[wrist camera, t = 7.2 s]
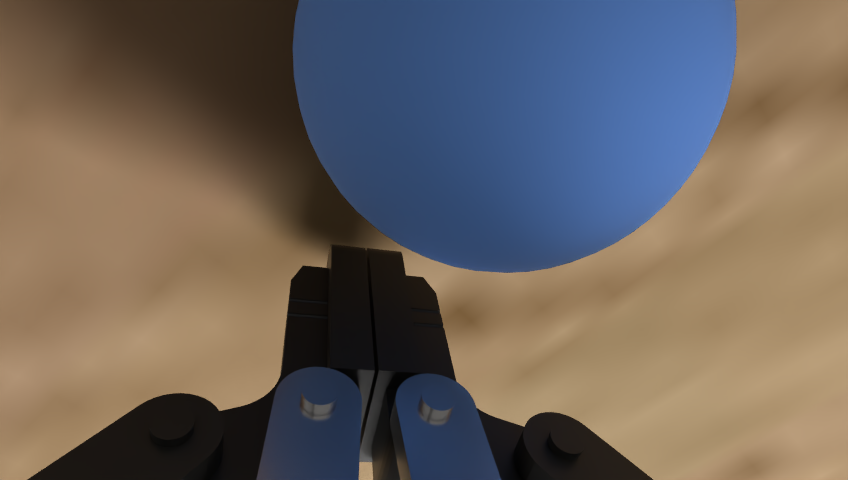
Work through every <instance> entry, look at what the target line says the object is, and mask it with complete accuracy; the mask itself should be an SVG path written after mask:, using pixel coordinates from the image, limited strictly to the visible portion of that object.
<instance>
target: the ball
mask: <svg viewBox="0 0 848 480" xmlns="http://www.w3.org/2000/svg"><path fill="white" fill-rule="evenodd" d="M735 57H736V7H735V0H299V3H298V7H297V11H296V16H295V26H294V37H293V67H294V79H295V85H296V91H297V97H298V102H299V107H300V111H301V115H302V118H303V121H304V124H305V127H306V130H307V134H308V137H309V139H310V142H311V144H312V146H313V148H314V150H315V152H316V154H317V156H318V158H319V160H320V162H321V164H322V165H323V167H324V169H325V170H326V172H327V173H328V175H329V176H330V178H331V179H332V181H333V182H334V184H335V185H336V187H337V188H338V190H339V191H340V193H341V194H342V195H343V196H344V197H345V199H346V200H347V201H348V202H349V203H350V204H351V205H352V206H353V208H354V209H355V210H356V211H357V212H358V213H359V214H361V215H362V216H363V217H364V218H365V219H366V220H367V221H369V222H370V223H371V224H372V225H373V226H374V227H376V228H377V229H378V230H379V231H381V232H382V233H383V234H385V235H386V236H388V237H389V238H391V239H392V240H394V241H395V242H397V243H398V244H400V245H401V246H403V247H405V248H407V249H410V250H412V251H414V252H416V253H418V254H420V255H422V256H425V257H427V258H430V259H432V260H435V261H438V262H441V263H444V264H447V265H451V266H454V267H459V268H464V269H469V270H475V271H488V272H504V273H510V272H529V271H535V270H541V269H548V268H552V267H556V266H559V265H563V264H567V263H570V262H573V261H575V260H578V259H581V258H583V257H586V256H589V255H591V254H594V253H596V252H598V251H600V250H602V249H604V248H606V247H608V246H610V245H612V244H614V243H616V242H618V241H619V240H621V239H622V238H624V237H626V236H627V235H629V234H630V233H632V232H633V231H635V230H636V229H637V228H639V227H640V226H641V225H643V224H644V223H645V222H647V221H648V220H649V219H650V218H651V217H653V216H654V215H655V214H656V213H657V212H658V211H659V210H660V209H661V208H662V207H663V206H665V205H666V204H667V202H668V201H669V200H670V199H671V198H672V197H673V196H674V195H675V194H676V193H677V191H678V190H679V189H680V188H681V187H682V185H683V184H684V183H685V181H686V180H687V179H688V177H689V176H690V175H691V173H692V172H693V171H694V169H695V168H696V166H697V164H698V163H699V161H700V159H701V158H702V156H703V155H704V153H705V151H706V149H707V147H708V145H709V143H710V141H711V139H712V137H713V135H714V133H715V131H716V128H717V126H718V124H719V122H720V119H721V116H722V113H723V110H724V108H725V105H726V102H727V99H728V95H729V91H730V87H731V83H732V78H733V73H734V65H735Z"/></svg>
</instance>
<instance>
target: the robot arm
mask: <svg viewBox="0 0 848 480" xmlns="http://www.w3.org/2000/svg"><path fill="white" fill-rule="evenodd" d="M359 462H372V465H373V480H653V479H652V478H651V477H649V476H648V475H647V474H646V473H644V472H643V471H642V470H640V469H639V468H638V467H637V466H635V465H634V464H633V463H632V462H630V461H629V460H628V459H626V458H625V457H624V456H623V455H621V454H620V453H619V452H618V451H616V450H615V449H614V448H613V447H611V446H610V445H609V444H607V443H606V442H605V441H604V440H602V439H601V438H600V437H599V436H597V435H596V434H595V433H593V432H592V431H591V430H590V429H588V428H587V427H586V426H585V425H583V424H582V423H580V422H579V421H577V420H575V419H573V418H571V417H569V416H566V415H563V414H560V413H554V412H545V413H540V414H537V415H535V416H533V417H532V418H530V419H529V420H528V421H527V423H526V425H525V427H523V426H520V425H517V424H514V423H511V422H508V421H505V420H501V419H498V418H495V417H493V416H490V415H488V414H486V413H484V412H482V411H481V410H479V409H478V408H476V405H475V403H474V401H473V398H472V397H471V395H470V394H469V392H468V391H467V390H466V389H465V388H464V387H463V386H461V385H460V384H459V383H457V382H456V378H455V374H454V369H453V365H452V361H451V356H450V352H449V348H448V343H447V339H446V335H445V330H444V328H443V322H442V318H441V314H440V309H439V305H438V300H437V296H436V293H435V291H434V290H433V289H432V288H431V287H430V285H429V284H428V283H427V282H426V280H425V279H424V278H423V277H416V276H406V274H405V268H404V262H403V256H402V253H401V252H398V251H389V250H379V249H370V248H367V250H365V248H359V247H350V246H341V245H330V249H329V255H328V262H327V268H322V267H312V266H302V268H301V269H300V270H299V271H298V272H297V274H296V275H295V276H294V277H293V278H292V280H291V286H290V294H289V303H288V312H287V320H286V329H285V338H284V347H283V357H282V366H281V375H280V378H279V380H278V382H277V384H276V385H275V387H274V388H273V389H272V390H271V391H270V392H269V393H268V394H267V395H265V396H264V397H262V398H261V399H259V400H257V401H255V402H253V403H250V404H248V405H244V406H241V407H237V408H232V409H228V410H223V411H219V410H218V409H217V407H216V406H215V405H214V404H212V403H211V402H210V401H208V400H206V399H205V398H202V397H199V396H196V395H192V394H184V393H176V394H167V395H162V396H159V397H155V398H153V399H151V400H148V401H146V402H144V403H143V404H141V405H139V406H138V407H136V408H135V409H133V410H132V411H130V412H129V413H127V414H126V415H124V416H123V417H121V418H120V419H118V420H117V421H115V422H114V423H112V424H111V425H109V426H108V427H106V428H105V429H103V430H102V431H100V432H99V433H97V434H95V435H94V436H92V437H91V438H89V439H88V440H86V441H85V442H83V443H82V444H80V445H79V446H77V447H76V448H74V449H73V450H71V451H70V452H68V453H67V454H65V455H64V456H62V457H61V458H59V459H58V460H56V461H55V462H53V463H52V464H50V465H49V466H47V467H46V468H44V469H43V470H41V471H40V472H38V473H37V474H35V475H34V476H32V477H31V478H29V479H28V480H358V477H359Z"/></svg>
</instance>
